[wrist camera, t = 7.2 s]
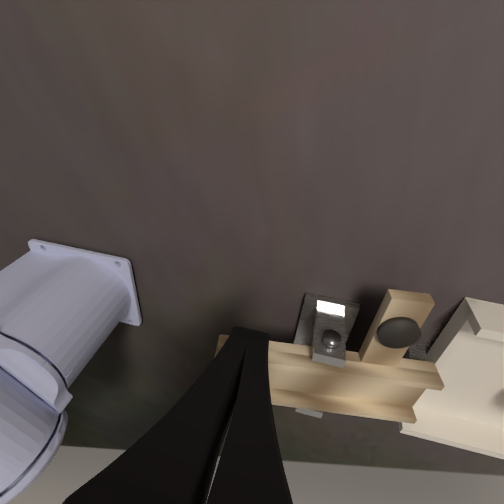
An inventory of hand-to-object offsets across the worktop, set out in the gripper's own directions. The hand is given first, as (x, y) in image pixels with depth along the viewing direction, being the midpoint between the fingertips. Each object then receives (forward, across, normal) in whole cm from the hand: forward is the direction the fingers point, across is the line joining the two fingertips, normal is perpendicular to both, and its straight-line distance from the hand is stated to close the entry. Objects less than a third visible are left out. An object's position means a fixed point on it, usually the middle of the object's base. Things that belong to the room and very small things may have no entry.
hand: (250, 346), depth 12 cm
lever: (+7, -4, +7) cm, 11 cm away
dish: (+10, -18, +10) cm, 23 cm away
